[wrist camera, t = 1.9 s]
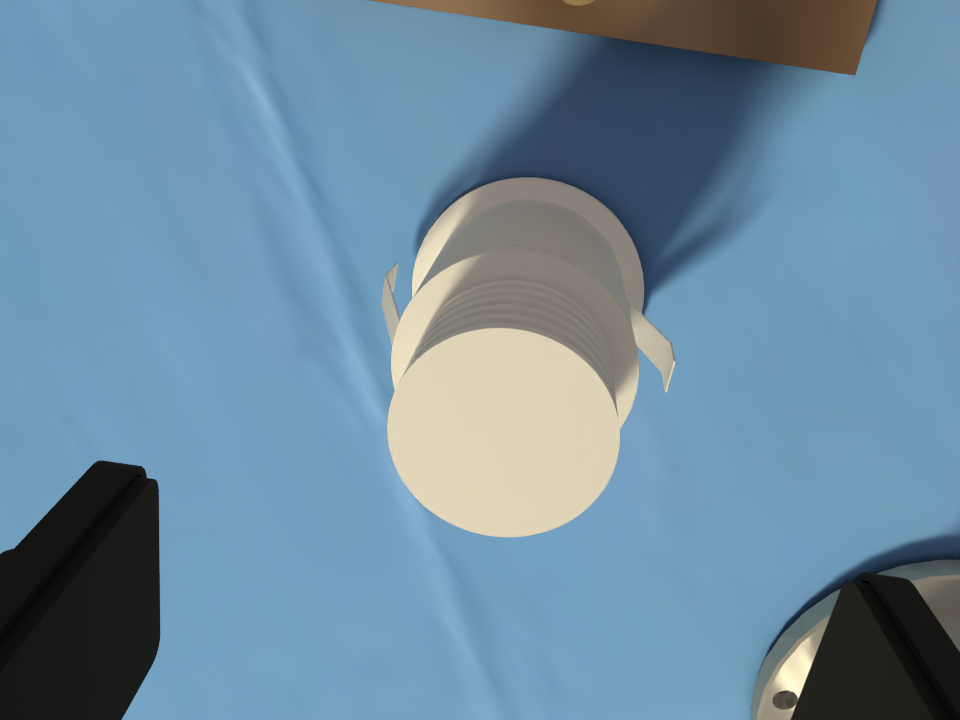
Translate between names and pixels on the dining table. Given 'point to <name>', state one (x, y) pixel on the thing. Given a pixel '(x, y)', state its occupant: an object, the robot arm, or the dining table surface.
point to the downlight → (517, 357)
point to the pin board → (700, 25)
